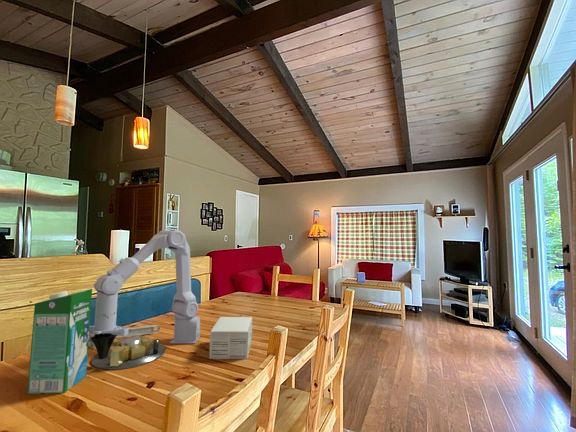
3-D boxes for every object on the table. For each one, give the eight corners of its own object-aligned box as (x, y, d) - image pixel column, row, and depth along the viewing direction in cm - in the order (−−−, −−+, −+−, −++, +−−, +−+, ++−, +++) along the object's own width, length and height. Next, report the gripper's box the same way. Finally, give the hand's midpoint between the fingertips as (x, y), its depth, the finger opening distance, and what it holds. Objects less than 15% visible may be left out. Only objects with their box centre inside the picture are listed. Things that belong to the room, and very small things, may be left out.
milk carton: (53, 376, 80) (60, 288, 82) (86, 375, 81) (92, 288, 83) (26, 394, 71) (35, 294, 73) (64, 393, 72) (71, 294, 74)
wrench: (158, 339, 118) (74, 352, 95) (156, 338, 119) (72, 351, 96) (162, 319, 120) (79, 328, 96) (159, 318, 121) (77, 326, 98)
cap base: (173, 342, 107) (174, 328, 108) (150, 369, 85) (151, 352, 86) (114, 342, 106) (115, 329, 106) (74, 370, 84) (75, 353, 84)
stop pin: (158, 354, 96) (159, 339, 97) (156, 355, 95) (157, 340, 95) (153, 354, 96) (154, 339, 97) (151, 356, 95) (152, 340, 95)
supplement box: (218, 340, 110) (219, 316, 111) (252, 340, 111) (252, 316, 111) (208, 359, 93) (209, 330, 94) (247, 359, 94) (248, 330, 95)
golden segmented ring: (157, 344, 102) (157, 333, 103) (135, 365, 86) (136, 351, 86) (120, 345, 101) (121, 333, 102) (92, 366, 85) (93, 352, 85)
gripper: (74, 315, 85) (70, 362, 84) (118, 318, 84) (115, 365, 82) (92, 309, 92) (89, 352, 91) (133, 312, 91) (131, 355, 89)
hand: (103, 357), depth 87 cm, fingers closed
